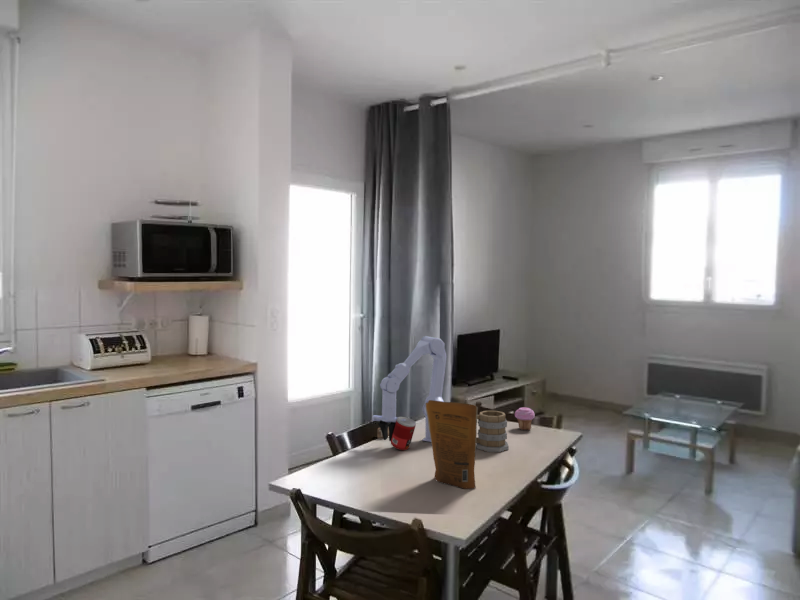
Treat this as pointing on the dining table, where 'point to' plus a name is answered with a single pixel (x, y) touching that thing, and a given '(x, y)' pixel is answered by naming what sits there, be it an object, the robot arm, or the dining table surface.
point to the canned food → (403, 433)
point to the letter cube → (380, 433)
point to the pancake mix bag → (453, 441)
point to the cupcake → (524, 418)
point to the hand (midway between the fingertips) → (388, 440)
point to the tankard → (492, 431)
